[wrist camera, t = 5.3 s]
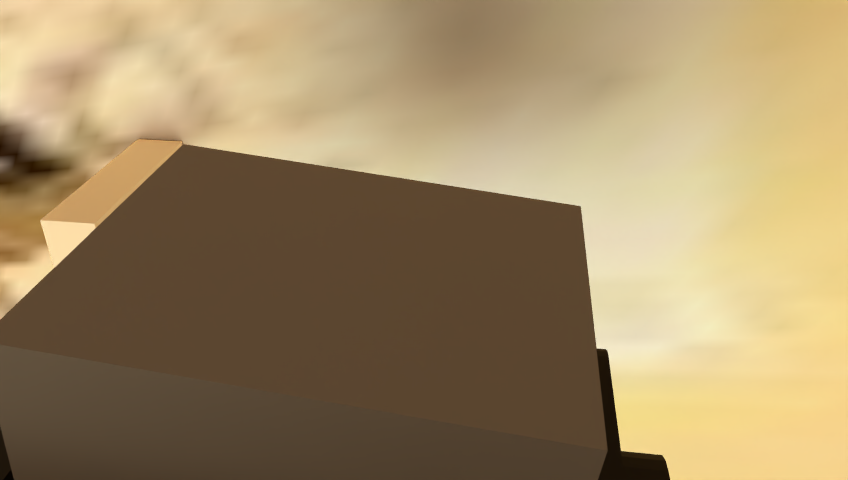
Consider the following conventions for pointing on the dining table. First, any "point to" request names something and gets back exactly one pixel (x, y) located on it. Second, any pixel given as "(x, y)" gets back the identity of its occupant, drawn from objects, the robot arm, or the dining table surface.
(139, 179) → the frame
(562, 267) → the doorstop
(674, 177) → the dining table surface
